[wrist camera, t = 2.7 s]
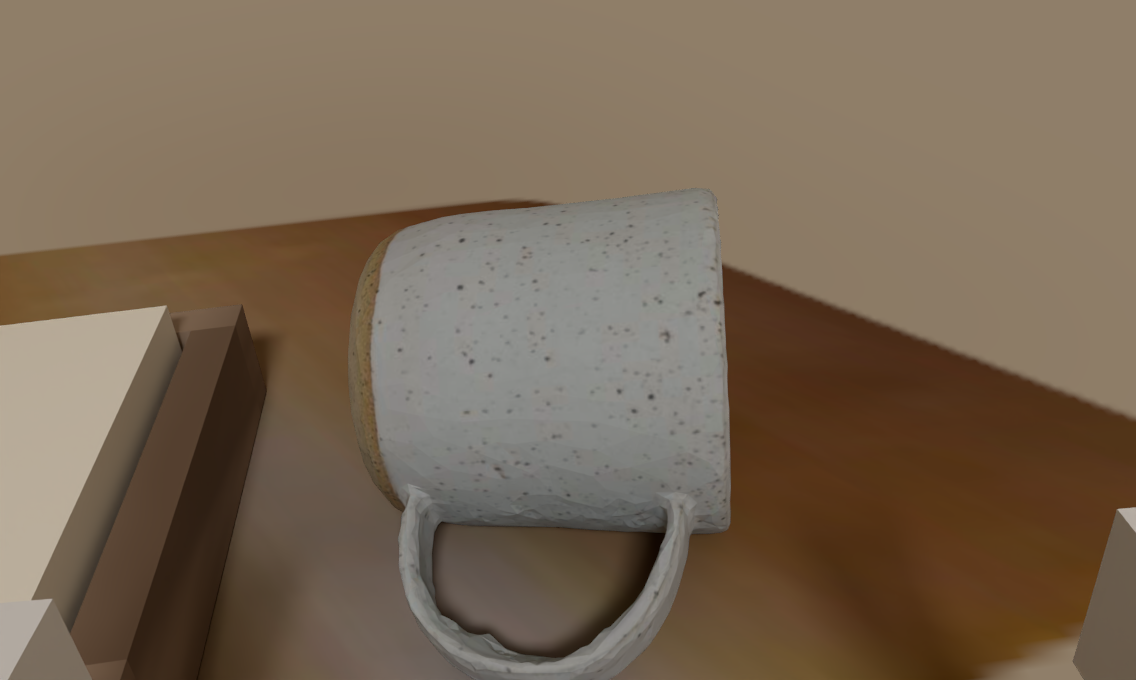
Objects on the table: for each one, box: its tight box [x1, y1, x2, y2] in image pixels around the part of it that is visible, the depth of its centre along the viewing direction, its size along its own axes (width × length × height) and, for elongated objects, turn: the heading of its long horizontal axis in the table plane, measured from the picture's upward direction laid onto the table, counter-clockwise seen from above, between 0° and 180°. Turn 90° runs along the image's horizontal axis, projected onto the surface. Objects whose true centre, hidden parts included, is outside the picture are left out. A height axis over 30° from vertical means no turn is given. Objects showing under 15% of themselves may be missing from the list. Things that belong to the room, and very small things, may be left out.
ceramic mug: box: [348, 188, 731, 680], centre depth 21 cm, size 11×8×8 cm
